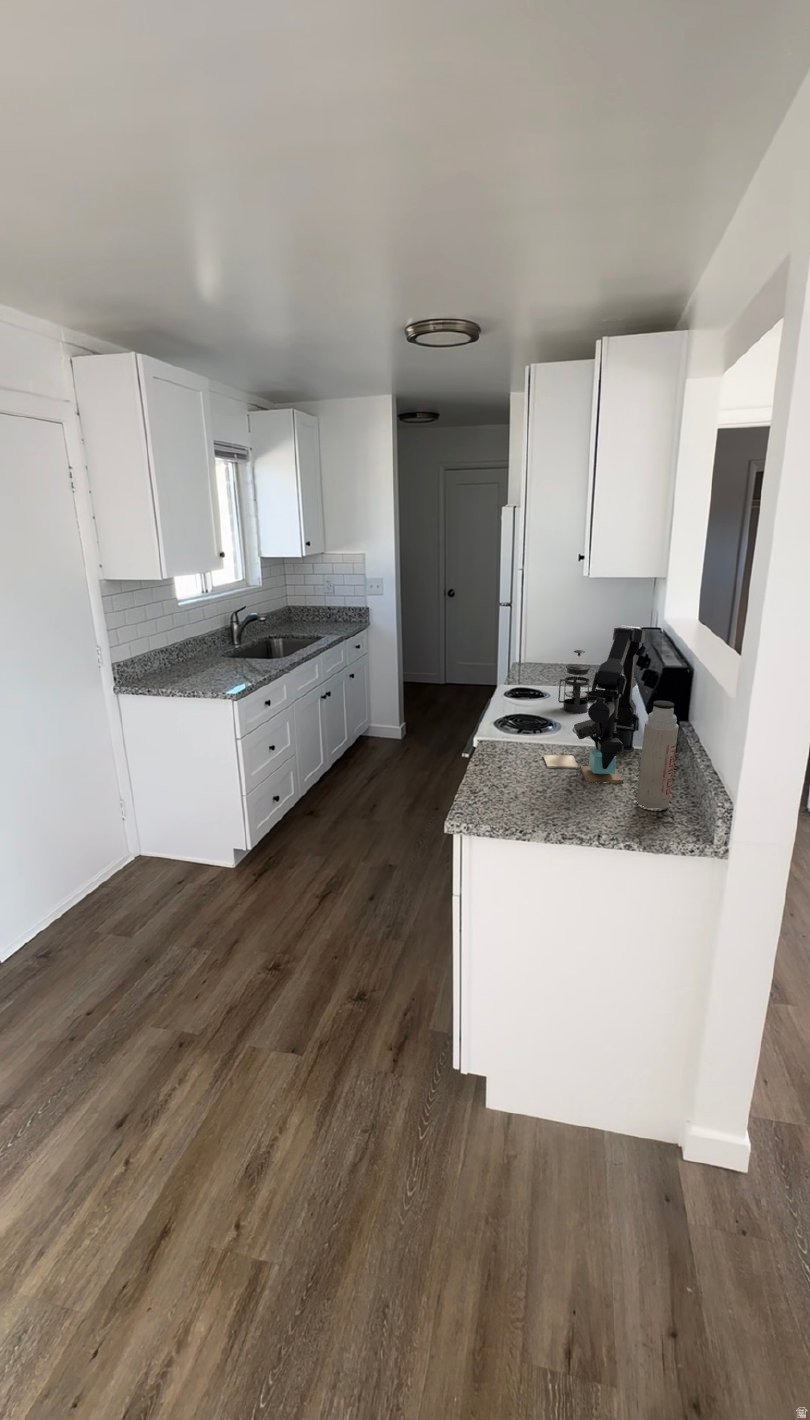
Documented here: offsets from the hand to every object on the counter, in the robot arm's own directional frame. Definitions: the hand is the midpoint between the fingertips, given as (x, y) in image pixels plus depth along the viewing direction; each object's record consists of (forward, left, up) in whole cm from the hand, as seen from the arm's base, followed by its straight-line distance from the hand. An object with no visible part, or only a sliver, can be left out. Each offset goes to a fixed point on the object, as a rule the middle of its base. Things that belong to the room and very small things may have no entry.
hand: (602, 764), depth 192 cm
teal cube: (0, 0, -2) cm, 2 cm away
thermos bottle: (-9, +19, -4) cm, 21 cm away
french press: (-4, -64, -4) cm, 64 cm away
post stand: (0, 0, -4) cm, 4 cm away
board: (+10, -10, -4) cm, 15 cm away
